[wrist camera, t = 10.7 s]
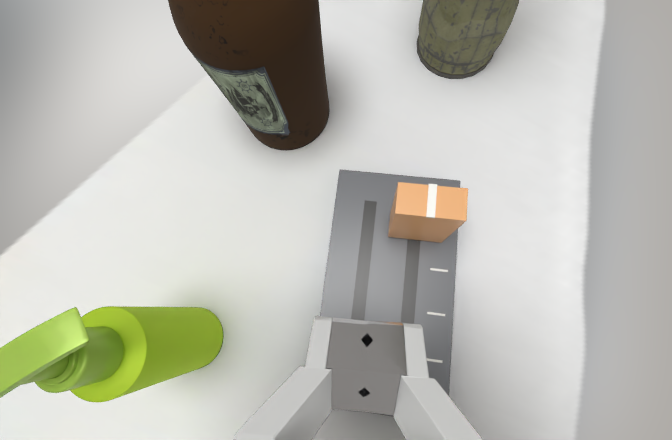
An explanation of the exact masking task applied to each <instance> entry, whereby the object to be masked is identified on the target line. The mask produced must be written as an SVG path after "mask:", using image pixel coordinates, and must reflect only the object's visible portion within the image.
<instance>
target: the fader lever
mask: <svg viewBox="0 0 672 440" xmlns="http://www.w3.org/2000/svg"><path fill="white" fill-rule="evenodd" d="M467 197H468V189H467V188H456V187H446V186H437V184H428V185H425V184H414V183H404V182H398V185H397V188H396V192H395V196H394V200H393V204H392V208H391V212H390V221H389V231H388V237H394V238H403V239H412V240H421V241H430V242H439V243H442V242H443V241H444V240H445V239H446V238H447V237H448V236H450V235H451V234H452V233H453V232H454V231H455V230H456V229H457V228H459V227H460V226H461V225H462V224H463V223H464V222H465V221H466V218H467Z"/></svg>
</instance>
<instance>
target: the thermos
mask: <svg viewBox="0 0 672 440" xmlns="http://www.w3.org/2000/svg"><path fill="white" fill-rule="evenodd" d="M518 4H519V0H423V5H422V10H421V16H420V21H419V36H418V39H417V52H418V55H419V57H420V60H421V62H422V63H423V64H424V65H425V66H426V67H427V69H428V70H430V71H432V72H433V73H435V74H437V75H438V76H442V77H446V78H450V79H461V78H466V77H469V76H473V75H475V74H477V73H478V72H480V71H481V70H483V69H484V68H485V67H486V65H487V64H488V63H489V62H490V60H491V58H492V56H493V53H494V52H495V50H496V49H497V48H498V47H499V45H500V44H501V42H502V40H503V38H504V36H505V34H506V32H507V30H508V28H509V26H510V24H511V22H512V19H513V17H514V14H515V12H516V9H517V6H518Z"/></svg>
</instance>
